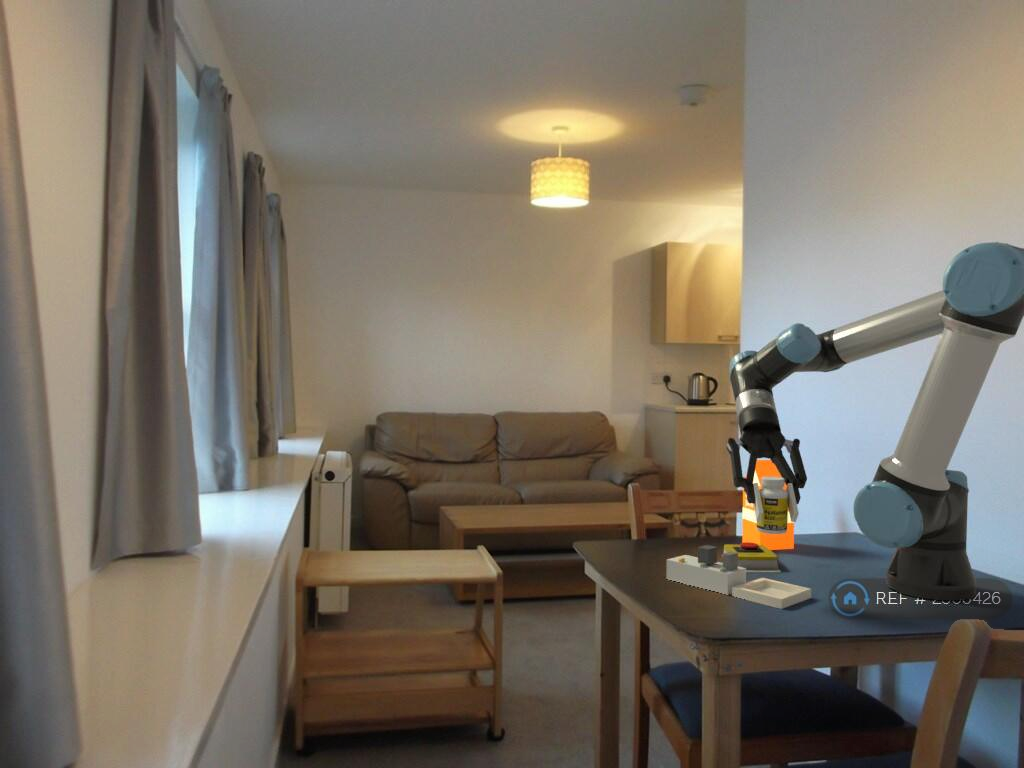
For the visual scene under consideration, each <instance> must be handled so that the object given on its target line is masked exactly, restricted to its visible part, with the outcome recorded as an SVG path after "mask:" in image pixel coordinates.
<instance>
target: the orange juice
mask: <svg viewBox="0 0 1024 768" xmlns="http://www.w3.org/2000/svg"><path fill="white" fill-rule="evenodd" d="M746 476H747V473H746V475H745V477H744V478H746ZM769 476H770V477H781V475H780V473H779V471H778V469H777V468H776V466H775V464H773V463H772V461H771V459H757V462H756V468H755V474H754V480H753V483H758V486H759V490H760V489H762V488H763V486H762V484H761V480H762V477H769ZM781 478H782V477H781ZM784 483H785V482H784ZM786 487H787V485H786V484H785V485H784V487H783V490H786ZM756 525H757V521H756V516H755V510H754V504H752V503H748V501H747V496H746V492H744V488H743V487H742V542H741V543H744V542H751V543H756V544H758V545H765V546H766V547H767V548H768V549H770V550H771V551H775V550H777V551H778V550H779V551H780V550H794V548H795V545H794V543H795V522H791V518H790V513H789V509H788V523H787V532H786V533H784V534H767V533H762V532H759V531H758V530H757V528H756Z"/></svg>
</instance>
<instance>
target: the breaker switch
mask: <svg viewBox="0 0 1024 768" xmlns="http://www.w3.org/2000/svg"><path fill="white" fill-rule="evenodd" d="M697 557H698V563H706V565H710V564H714V563H717V562H718V546H714V545H709V544H705V545H702V546H698V547H697Z"/></svg>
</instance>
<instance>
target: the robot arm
mask: <svg viewBox="0 0 1024 768" xmlns="http://www.w3.org/2000/svg"><path fill="white" fill-rule="evenodd" d="M1023 318H1024V248H1023V247H1019V246H1015V245H1012V244H1009V243H1007V242H1005V243H1004V242H999V241H995V242H981V243H980V242H979V243H977V244H973V245H971V246H968V247H967V248H965V249H963V250H961V251H960V252H958V253H957V254H956V255H955V256H954V257H953V258H952V259H951V260H950V262H949V263H948V265H947V266H946V269H945V270H944V273H943V277H942V290H939V291H937V292H934V293H930V294H928V295H925V296H923V297H920V298H917V299H916V298H915V299H914V300H911V301H909V302H905V303H903V304H899V305H897V306H895V307H892V308H888V309H887V310H883V311H880V312H877V313H874V314H872V315H869V316H866V317H864V318H861V319H859V320H855V321H853V322H850V323H847V324H844V325H841V326H838V327H836V328H834V329H830V330H827V331H824V332H822V333H818V334H817V333H815V331H814V330H812V329H811V328H810V327H808V326H806V325H805V324H803V323H801V322H800V323H798V322H797V323H794V324H792V325H790V326H789V327H787V328H786V329H784V330H782V331H781V332H780V333H778V335H777V336H775V337H774V338H773V339H772V340H771V341H770V342H768V343H767V344H766V345H765V346H763V347H762V348H761V349H760V350H758V351H756V350H745V351H744V352H741V353H740V352H739V353H737V354H735V355H734V356H733V357H732V358H731V360H730V363H729V382H730V385H731V389H732V392H733V393H732V394H733V397H734V405H735V411H736V412H735V413H736V417H737V421H738V429H739V432H740V437H739V438H736V439H734V438H732V437H729V438H728V440H727V444H726V450H727V452H728V453H729V455H730V462H731V469H732V477H733V480H732V481H733V485H734V487H735V488H742V489H743V488H744V492H746V496H747V501H748V503H752V504H754V510H755V516H756V521H761V519H762V516H763V508H762V502H761V497H760V492H759V486H758V483H753V480H754V474H755V468H756V462H757V460H758V459H769V460H771V461H772V463H773V464H775V466H776V468H777V469H778V471H779V473H780V475H781V477H782V478H784V482H785V484H786V485H787V487H786V490H785V491H786V492H787V493H788V509H789V513H790V518H791V522H794V523H796V522H797V520H798V519H797V518H798V517H799V514H800V513H799V509H798V505H799V503H800V500H801V493H800V489H804V488H805V485H806V483H807V480H808V476H807V474H806V473H807V472H806V470H805V467H804V466H805V465H804V461H803V458H802V455H801V452H800V444H801V440H800V439H798V438H794V439H793V440H790V439H787V438H786V437H785V435H783V433H782V431H781V425H780V420H779V416H778V412H777V408H776V403H775V398H774V393H773V389H774V387H776V386H777V385H778V384H781V382H783V381H784V380H786V379H787V378H788V377H790V376H791V375H793V374H794V373H804V372H805V373H806V372H807V373H809V372H810V373H811V372H817V373H819V372H820V373H829V372H834V371H837V370H840V369H842V368H843V367H844V366H845V365H848V364H851V363H853V362H856V361H860V360H863V359H866V358H870V357H873V356H875V355H879V354H882V353H884V352H888V351H892V350H894V349H897V348H901V347H904V346H907V345H910V344H913V343H916V342H920V341H923V340H925V339H926V340H927V339H929V338H933V337H936V336H939V335H941V336H940V339H939V341H938V344H937V346H936V348H935V351H934V353H933V355H932V359H931V361H930V364H929V365H928V367H927V368H928V369H927V371H926V372H925V376H924V378H923V380H922V383H921V385H920V388H919V391H918V393H917V396H916V398H915V400H914V403H913V405H912V408H911V410H910V413H909V415H908V417H907V420H906V423H905V426H904V428H903V430H902V433H901V436H900V438H899V440H898V443H897V444H896V448H895V450H894V452H893V454H892V455H891V456H888V457H885V458H882V459H881V461H880V463H879V465H878V467H877V469H876V472H875V474H874V477H873V479H872V482H870V483H867V484H865V485H864V486H863V487H862V488H861V489H860V490H858V493H857V494H856V496H855V498H854V502H853V515H854V520H855V522H856V523H857V526H858V528H859V530H860V531H861V533H862V534H863V535H864V537H866V538H867V539H869V540H870V541H871V542H872V543H874V544H876V545H878V546H880V547H883V548H888V549H895V551H894V553H893V555H892V558H891V561H890V564H889V566H888V568H887V569H888V570H887V572H886V584H887V583H888V585H889V586H891V587H892V588H894V589H895V590H896V591H895V592H897V591H898V592H897V593H899V594H903V595H907V596H911V597H915V598H916V597H917V598H922V599H928V600H936V601H938V600H939V601H962V600H963V601H965V600H970V599H973V598H975V597H976V596H977V579H976V578H975V575H974V572H973V569H972V565H971V563H970V562H971V561H970V559H969V557H968V553H967V540H968V539H967V538H968V537H967V536H968V535H967V534H968V506H969V504H968V500H969V499H968V498H969V492H970V490H969V487H968V477H967V475H966V474H965V473H964V472H963V471H961V470H953V469H952V470H950V469H948V467H949V465H950V462H951V460H952V458H953V455H954V453H955V451H956V448H957V446H958V445H959V441H960V439H961V437H962V434H963V432H964V430H965V427H966V425H967V423H968V420H969V418H970V415H971V413H972V411H973V408H974V406H975V404H976V401H977V399H978V396H979V394H980V392H981V389H982V387H983V385H984V383H985V381H986V379H987V376H988V374H989V371H990V369H991V366H992V364H993V362H994V359H995V357H996V354H997V352H998V349H999V347H1000V345H1001V344H1002V343H1003V342H1005V341H1007V340H1009V339H1012V338H1014V337H1016V334H1017V333H1018V330H1019V328H1020V325H1021V323H1022V320H1023ZM741 447H742V448H743V449H744V450H745V451H746V452H747V453H748V454H749V459H748V465H747V471H746V474H747V476H746V475H745V477H746V478H745V477H743V476H744V475H743V469H742V467H743V466H742V461H741V453H740V451H741V450H740V449H741ZM783 447H785V448H786V452H787V453H788V454H789V459H790V463H791V465H792V468H791V467H790V464H789V463H788V461H787V460H786V458H785V456H784V453H783V450H782V449H783ZM975 595H976V596H975ZM974 596H975V597H974Z"/></svg>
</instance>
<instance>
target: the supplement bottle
mask: <svg viewBox="0 0 1024 768" xmlns="http://www.w3.org/2000/svg"><path fill="white" fill-rule="evenodd" d="M761 484H762V486H763V488H762V489H760V490H759V492H760V497H761V502H762V508H763V516H762V519H761V521H757V525H756V528H757V530H758V531H759V532H762V533H767V534H784V533H786V532H787V523H788V493H787V492H786V491H785V490H783V487H784V485H785V483H784V478H781V477H770V476H769V477H762V480H761Z"/></svg>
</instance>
